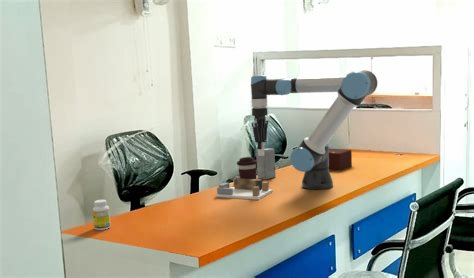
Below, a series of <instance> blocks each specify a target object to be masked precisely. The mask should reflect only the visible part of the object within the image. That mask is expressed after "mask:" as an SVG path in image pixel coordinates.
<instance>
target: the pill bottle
mask: <svg viewBox="0 0 474 278" xmlns="http://www.w3.org/2000/svg"><path fill="white" fill-rule="evenodd" d="M107 203H108V202H107V200H106V199H97V200H94V203H93V204H94V206H93V208H92V215H93V226H94V230H95V231H105V229H106V230H109V229H110V228H111V215H110V206H109V205H107ZM108 228H109V229H108Z"/></svg>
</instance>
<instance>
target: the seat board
mask: <svg viewBox="0 0 474 278" xmlns="http://www.w3.org/2000/svg"><path fill="white" fill-rule="evenodd" d="M269 185H270V184H269V181H262V189H261V190H259V187H258V186H254V187H252V190H251V189H235V188H234V186H230V182H223V183H220V184H218V187H217V188H216V195H215V196H216V198H228V199H229V198H230V199H231V198H232V199H243V200H244V199H245V200H261V199H262V198H265V197H266V196H267V195H270V194H271V193H273V189H270V186H269Z"/></svg>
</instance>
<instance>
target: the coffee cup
mask: <svg viewBox="0 0 474 278" xmlns="http://www.w3.org/2000/svg"><path fill="white" fill-rule="evenodd" d="M236 165H237V167H238V176H240V178H241V179H257V159H255V158H254V157H252V156H243V157H240V158H239V160H238V161H236Z"/></svg>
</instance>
